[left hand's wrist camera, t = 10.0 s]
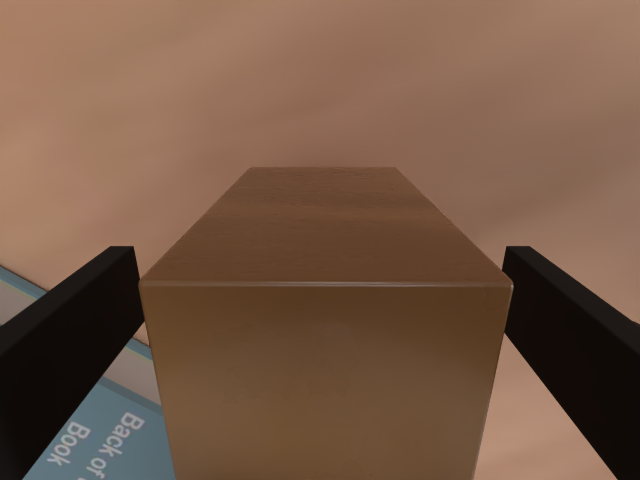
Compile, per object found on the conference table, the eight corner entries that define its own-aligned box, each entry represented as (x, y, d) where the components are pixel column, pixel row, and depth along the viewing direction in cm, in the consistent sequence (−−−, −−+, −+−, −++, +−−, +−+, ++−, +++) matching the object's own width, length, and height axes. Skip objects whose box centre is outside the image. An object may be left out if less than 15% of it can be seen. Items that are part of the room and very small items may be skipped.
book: (228, 390, 32) (212, 441, 27) (142, 495, 37) (116, 553, 32) (-42, 243, 27) (-117, 275, 22) (-102, 386, 32) (-174, 436, 27)
